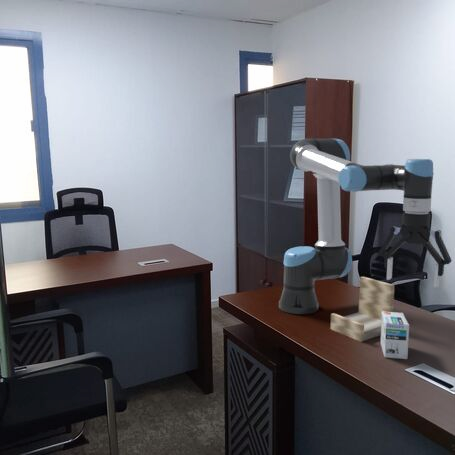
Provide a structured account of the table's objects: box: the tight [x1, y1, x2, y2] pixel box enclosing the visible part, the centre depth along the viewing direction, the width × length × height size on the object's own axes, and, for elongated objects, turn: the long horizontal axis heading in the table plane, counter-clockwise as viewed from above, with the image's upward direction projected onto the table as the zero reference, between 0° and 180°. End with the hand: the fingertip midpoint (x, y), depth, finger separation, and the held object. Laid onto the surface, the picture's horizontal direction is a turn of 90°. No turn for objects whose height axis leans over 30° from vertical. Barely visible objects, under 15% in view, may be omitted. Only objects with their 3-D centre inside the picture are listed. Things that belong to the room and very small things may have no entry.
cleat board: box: [330, 276, 395, 343], centre depth 154 cm, size 13×16×16 cm
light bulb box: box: [380, 311, 410, 360], centre depth 139 cm, size 11×7×11 cm, turn 168°
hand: (412, 282), depth 138 cm, fingers open, 13 cm apart
